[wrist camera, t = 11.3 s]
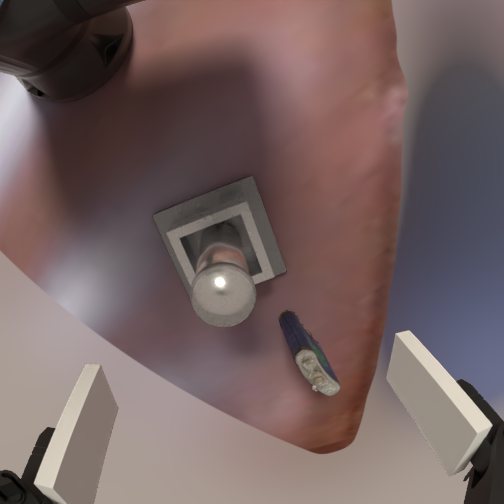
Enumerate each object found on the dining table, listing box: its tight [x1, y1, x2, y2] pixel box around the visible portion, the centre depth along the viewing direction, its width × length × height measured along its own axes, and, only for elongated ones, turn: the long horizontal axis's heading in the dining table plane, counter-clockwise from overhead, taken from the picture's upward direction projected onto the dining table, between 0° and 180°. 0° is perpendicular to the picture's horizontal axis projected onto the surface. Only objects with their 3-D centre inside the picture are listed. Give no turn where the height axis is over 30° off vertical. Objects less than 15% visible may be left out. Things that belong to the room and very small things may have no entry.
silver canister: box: [190, 224, 256, 327], centre depth 30 cm, size 5×5×14 cm
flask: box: [279, 310, 341, 396], centre depth 38 cm, size 9×3×11 cm, turn 36°
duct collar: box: [153, 176, 287, 297], centre depth 35 cm, size 12×12×5 cm
